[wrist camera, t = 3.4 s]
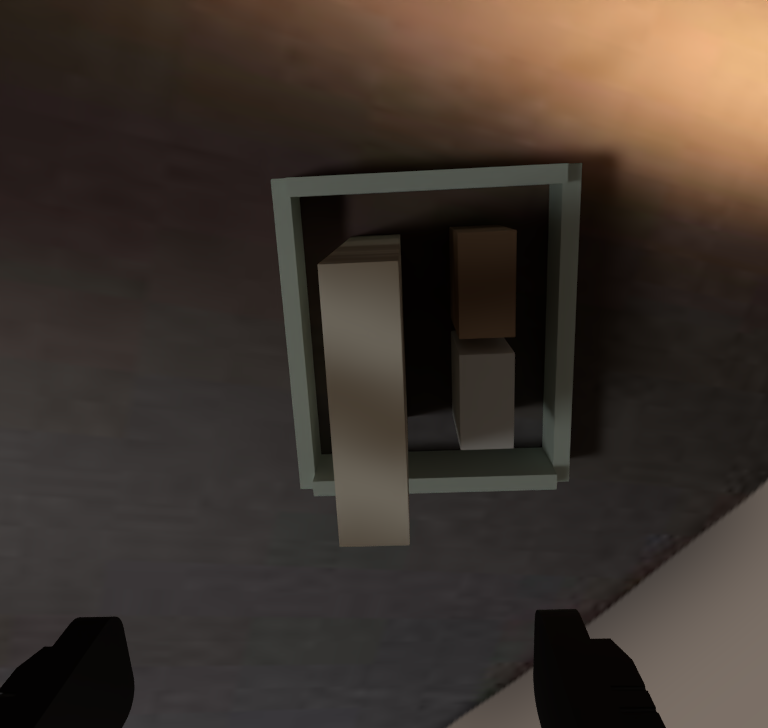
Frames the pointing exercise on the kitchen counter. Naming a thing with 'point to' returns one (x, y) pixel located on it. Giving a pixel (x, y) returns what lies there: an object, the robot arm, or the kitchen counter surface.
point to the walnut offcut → (483, 281)
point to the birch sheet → (367, 389)
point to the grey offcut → (483, 392)
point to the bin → (562, 266)
